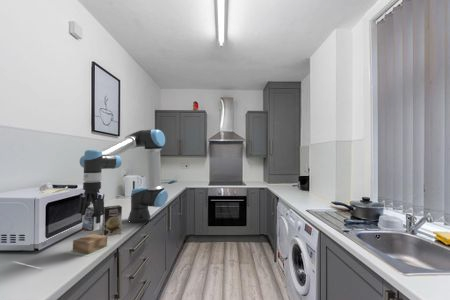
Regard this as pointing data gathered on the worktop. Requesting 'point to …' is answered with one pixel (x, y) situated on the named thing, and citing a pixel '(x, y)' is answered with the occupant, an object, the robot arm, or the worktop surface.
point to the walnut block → (89, 243)
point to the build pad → (88, 254)
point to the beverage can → (88, 220)
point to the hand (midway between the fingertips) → (90, 229)
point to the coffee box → (112, 220)
